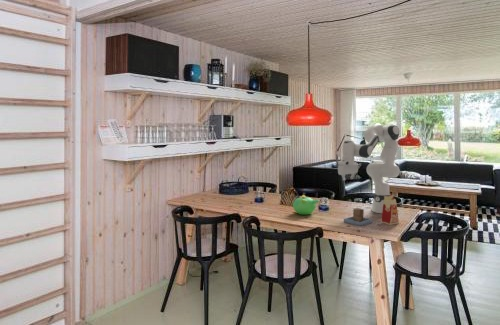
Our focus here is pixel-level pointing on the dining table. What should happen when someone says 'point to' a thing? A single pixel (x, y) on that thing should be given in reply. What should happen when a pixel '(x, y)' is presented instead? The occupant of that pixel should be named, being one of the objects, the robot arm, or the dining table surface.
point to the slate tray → (364, 222)
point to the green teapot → (304, 205)
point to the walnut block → (358, 214)
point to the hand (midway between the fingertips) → (348, 179)
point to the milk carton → (390, 211)
